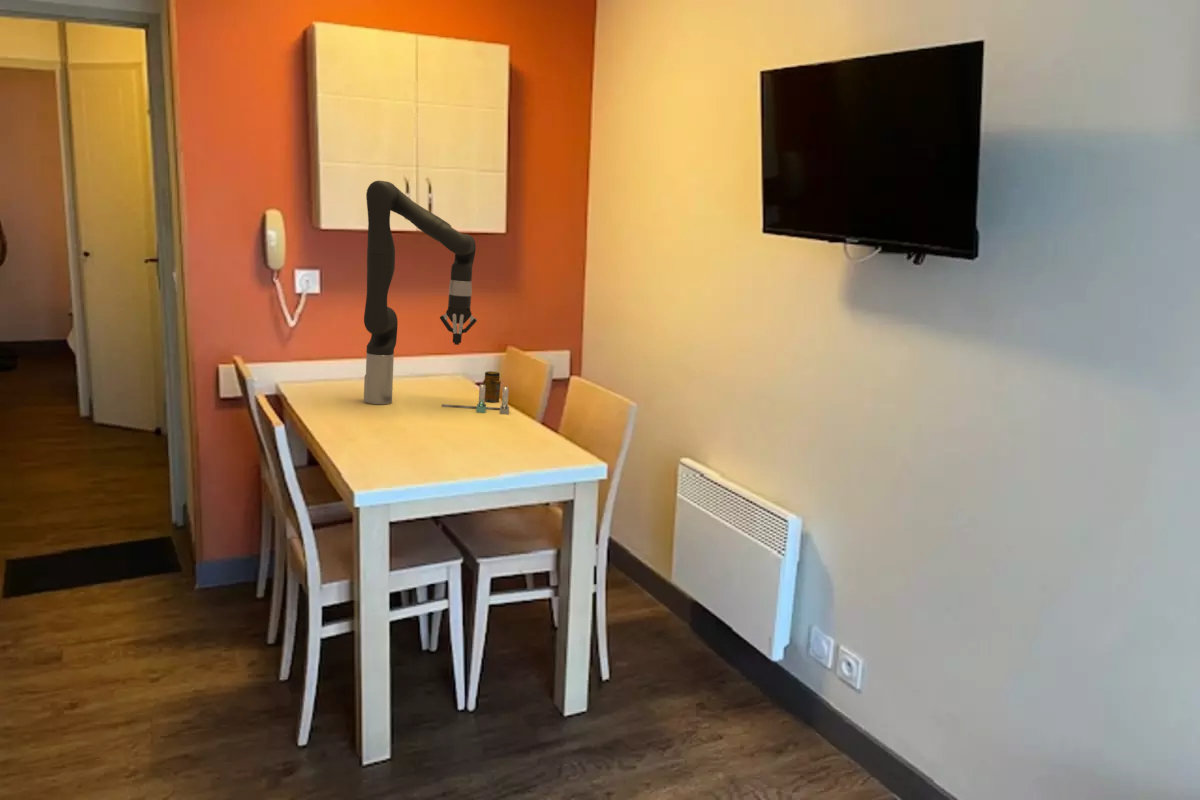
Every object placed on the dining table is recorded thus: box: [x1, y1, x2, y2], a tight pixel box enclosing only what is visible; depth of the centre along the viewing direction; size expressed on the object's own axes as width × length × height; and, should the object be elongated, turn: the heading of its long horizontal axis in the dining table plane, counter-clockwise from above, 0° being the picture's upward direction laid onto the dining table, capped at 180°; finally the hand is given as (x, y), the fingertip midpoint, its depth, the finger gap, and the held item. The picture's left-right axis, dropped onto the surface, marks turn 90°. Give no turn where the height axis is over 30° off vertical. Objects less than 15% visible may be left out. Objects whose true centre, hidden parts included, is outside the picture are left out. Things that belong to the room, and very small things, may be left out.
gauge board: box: [441, 403, 500, 411], centre depth 317 cm, size 24×14×2 cm, turn 94°
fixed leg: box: [499, 386, 510, 415], centre depth 318 cm, size 3×5×9 cm, turn 4°
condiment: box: [482, 370, 501, 404], centre depth 335 cm, size 7×8×12 cm
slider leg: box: [475, 384, 487, 414], centre depth 318 cm, size 3×5×9 cm, turn 4°
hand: (456, 344), depth 320 cm, fingers closed
